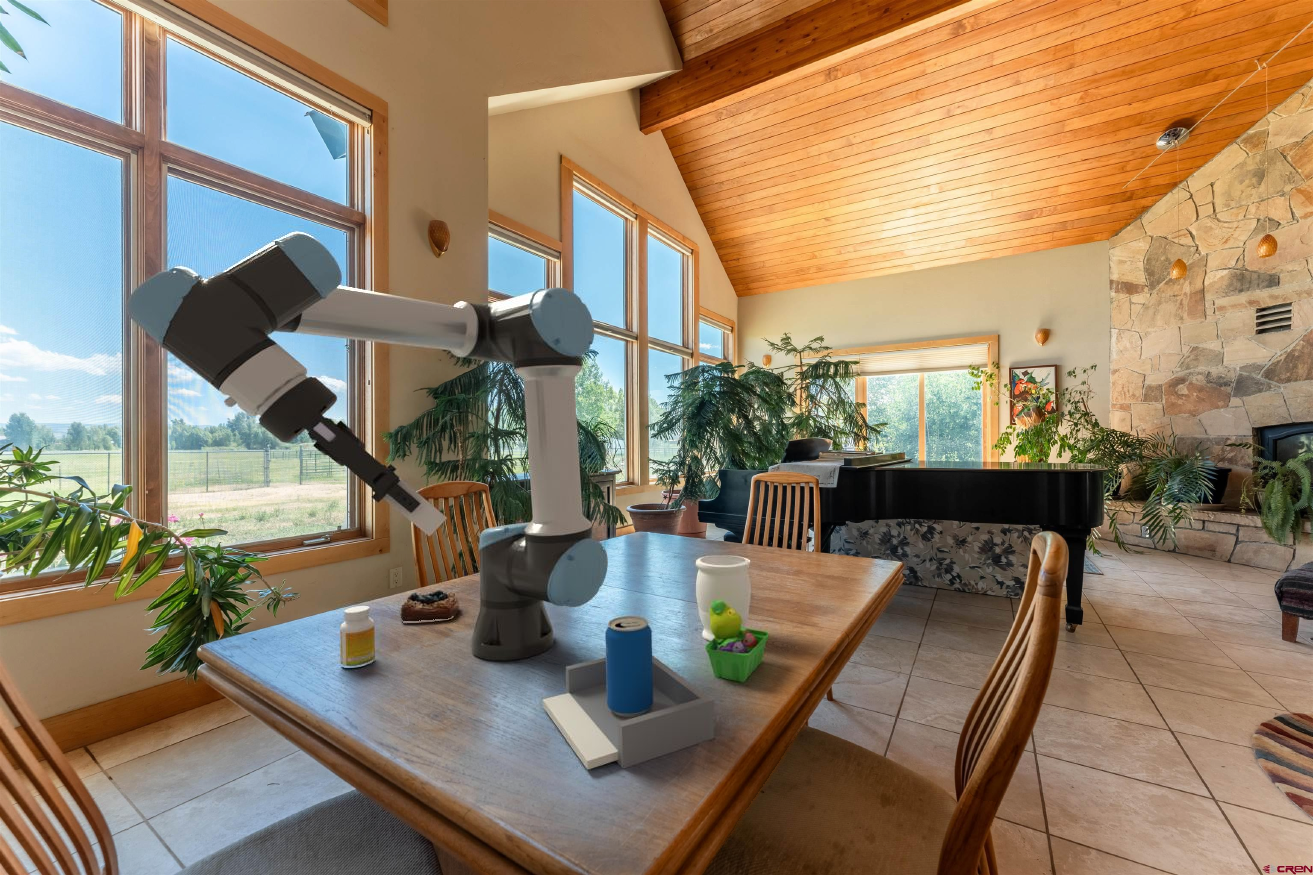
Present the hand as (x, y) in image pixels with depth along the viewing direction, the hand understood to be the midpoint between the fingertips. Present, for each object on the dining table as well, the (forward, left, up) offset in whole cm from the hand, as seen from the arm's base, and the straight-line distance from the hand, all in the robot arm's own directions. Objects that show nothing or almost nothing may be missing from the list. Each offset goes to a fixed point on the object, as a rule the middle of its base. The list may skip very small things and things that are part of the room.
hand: (431, 519), depth 69 cm
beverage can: (+4, +25, -28) cm, 38 cm away
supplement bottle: (-38, -8, -30) cm, 49 cm away
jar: (-15, +55, -30) cm, 64 cm away
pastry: (-60, +6, -30) cm, 67 cm away
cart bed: (+4, +24, -30) cm, 38 cm away
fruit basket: (-2, +48, -30) cm, 56 cm away
